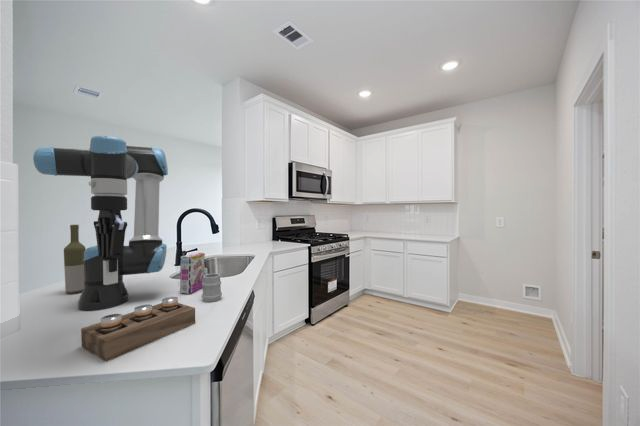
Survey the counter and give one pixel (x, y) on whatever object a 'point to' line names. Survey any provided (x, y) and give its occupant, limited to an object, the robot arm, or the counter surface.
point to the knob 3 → (169, 304)
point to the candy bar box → (191, 272)
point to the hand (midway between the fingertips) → (110, 283)
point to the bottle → (74, 263)
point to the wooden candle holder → (136, 331)
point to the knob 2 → (142, 313)
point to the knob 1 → (111, 323)
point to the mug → (211, 287)
